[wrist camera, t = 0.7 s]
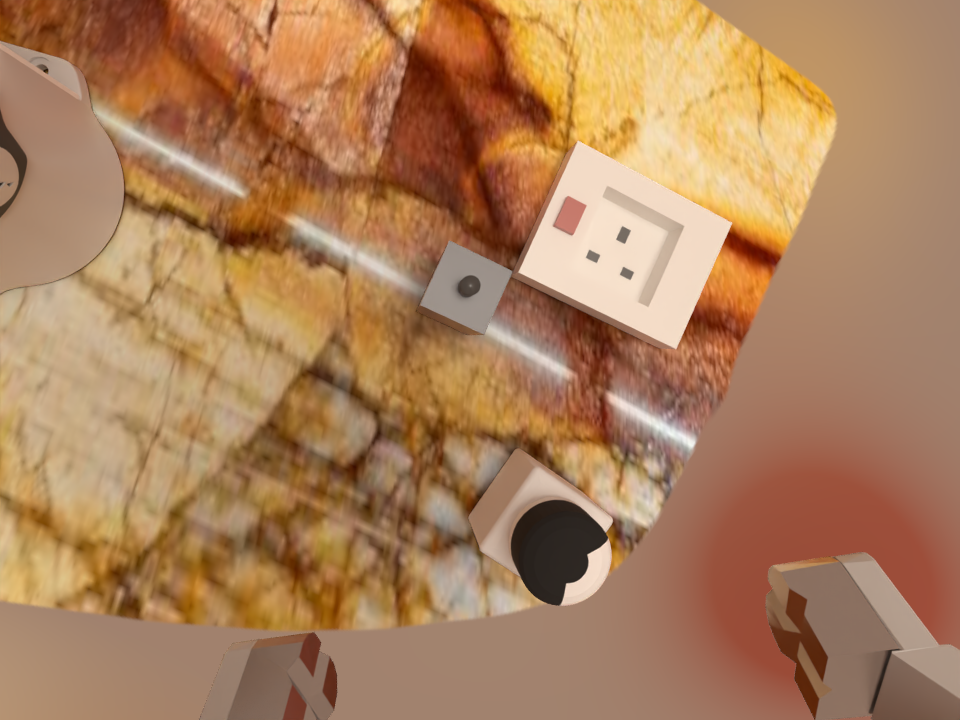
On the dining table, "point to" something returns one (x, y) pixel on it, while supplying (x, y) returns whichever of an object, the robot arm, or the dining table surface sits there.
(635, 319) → the socket
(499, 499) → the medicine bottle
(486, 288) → the plug
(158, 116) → the dining table surface
